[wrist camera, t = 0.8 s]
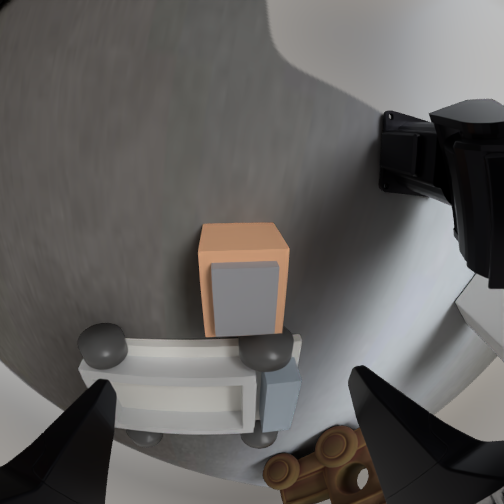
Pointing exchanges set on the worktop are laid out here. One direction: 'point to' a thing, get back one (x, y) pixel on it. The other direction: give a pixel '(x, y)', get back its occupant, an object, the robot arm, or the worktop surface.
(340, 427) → the wooden toy train
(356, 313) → the worktop surface
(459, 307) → the milk carton
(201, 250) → the tan box grey panel
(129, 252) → the worktop surface
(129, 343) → the chassis
